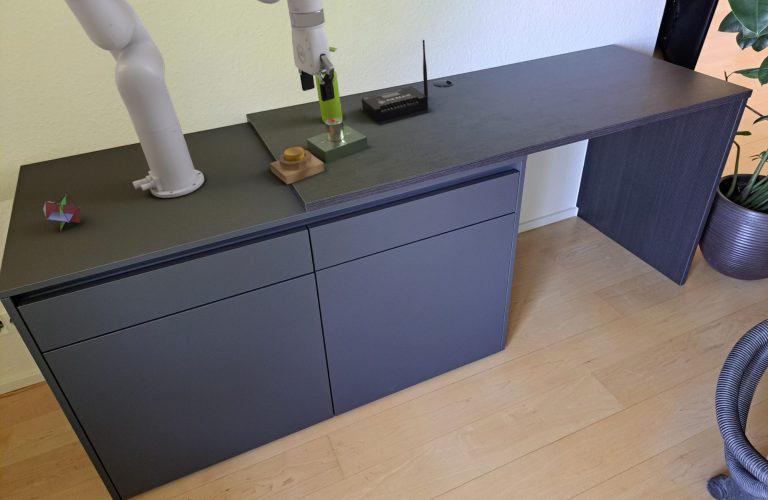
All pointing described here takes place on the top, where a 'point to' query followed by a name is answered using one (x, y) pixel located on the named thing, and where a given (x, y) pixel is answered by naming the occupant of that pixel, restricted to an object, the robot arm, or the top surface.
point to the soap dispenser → (331, 106)
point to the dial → (334, 129)
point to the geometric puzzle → (62, 212)
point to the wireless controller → (398, 102)
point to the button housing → (296, 168)
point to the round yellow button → (294, 154)
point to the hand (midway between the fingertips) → (318, 94)
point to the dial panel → (337, 145)
